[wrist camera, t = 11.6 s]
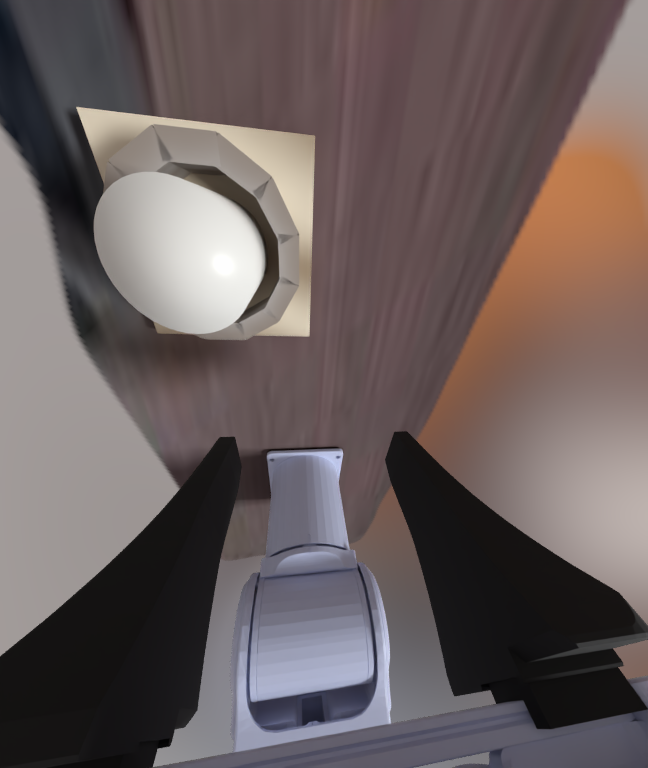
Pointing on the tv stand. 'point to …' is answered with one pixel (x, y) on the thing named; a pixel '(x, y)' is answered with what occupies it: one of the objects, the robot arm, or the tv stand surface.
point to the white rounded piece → (179, 251)
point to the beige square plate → (234, 180)
